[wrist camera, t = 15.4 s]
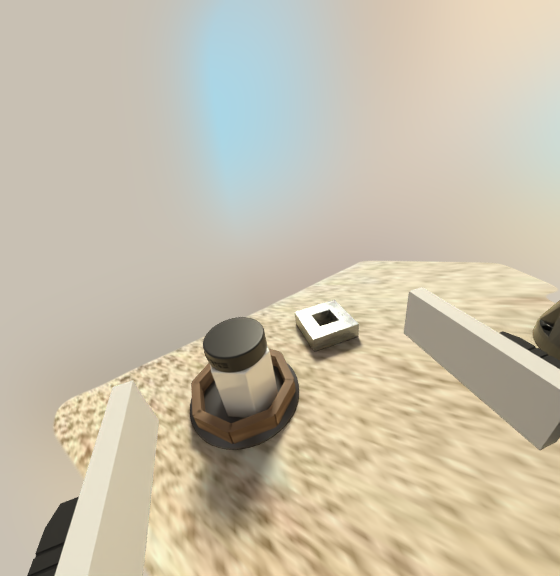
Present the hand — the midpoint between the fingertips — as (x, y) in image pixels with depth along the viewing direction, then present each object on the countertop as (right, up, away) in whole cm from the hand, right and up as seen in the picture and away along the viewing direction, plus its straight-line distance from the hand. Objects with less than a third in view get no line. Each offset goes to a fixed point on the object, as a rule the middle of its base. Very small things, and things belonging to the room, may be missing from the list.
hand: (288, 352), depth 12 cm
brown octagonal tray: (-6, -14, +29) cm, 32 cm away
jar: (-5, -14, +28) cm, 32 cm away
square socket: (+9, -5, +39) cm, 41 cm away
